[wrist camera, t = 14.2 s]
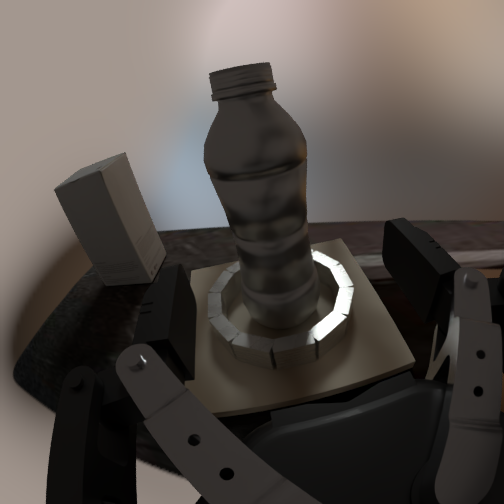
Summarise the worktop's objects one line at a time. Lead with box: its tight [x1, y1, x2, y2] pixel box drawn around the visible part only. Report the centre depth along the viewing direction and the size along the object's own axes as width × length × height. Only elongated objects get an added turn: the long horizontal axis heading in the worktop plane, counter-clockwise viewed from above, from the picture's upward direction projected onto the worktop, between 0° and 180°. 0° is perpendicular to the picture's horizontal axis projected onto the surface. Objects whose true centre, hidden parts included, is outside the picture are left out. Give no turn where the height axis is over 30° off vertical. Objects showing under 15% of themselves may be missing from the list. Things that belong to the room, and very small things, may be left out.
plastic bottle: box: [204, 62, 321, 329], centre depth 20 cm, size 6×7×20 cm
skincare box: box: [54, 152, 166, 286], centre depth 33 cm, size 8×7×16 cm
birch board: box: [185, 239, 415, 418], centre depth 26 cm, size 18×18×1 cm
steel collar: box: [208, 249, 354, 370], centre depth 25 cm, size 12×12×2 cm
